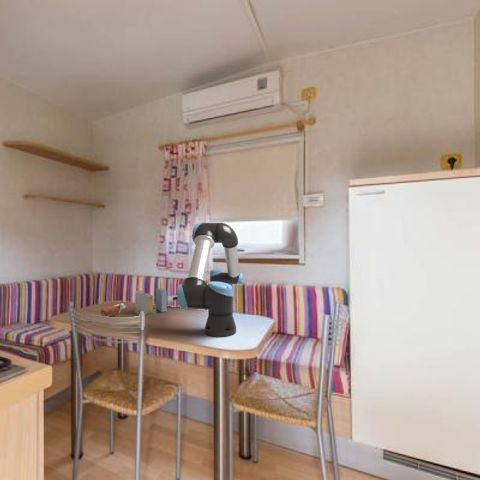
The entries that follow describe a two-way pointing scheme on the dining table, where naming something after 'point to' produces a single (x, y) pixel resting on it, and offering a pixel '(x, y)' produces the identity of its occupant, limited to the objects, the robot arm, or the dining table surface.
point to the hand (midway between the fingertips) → (167, 298)
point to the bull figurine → (112, 310)
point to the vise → (143, 303)
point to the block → (149, 304)
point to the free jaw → (161, 299)
